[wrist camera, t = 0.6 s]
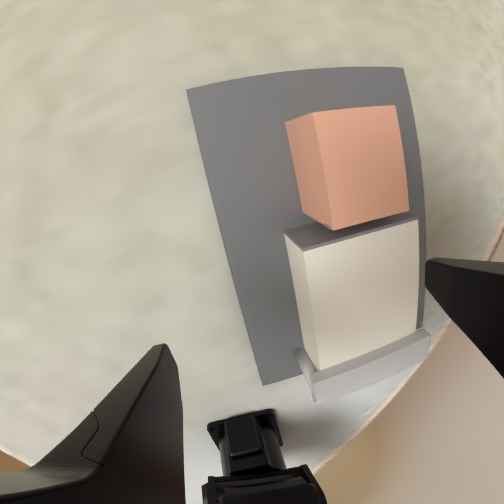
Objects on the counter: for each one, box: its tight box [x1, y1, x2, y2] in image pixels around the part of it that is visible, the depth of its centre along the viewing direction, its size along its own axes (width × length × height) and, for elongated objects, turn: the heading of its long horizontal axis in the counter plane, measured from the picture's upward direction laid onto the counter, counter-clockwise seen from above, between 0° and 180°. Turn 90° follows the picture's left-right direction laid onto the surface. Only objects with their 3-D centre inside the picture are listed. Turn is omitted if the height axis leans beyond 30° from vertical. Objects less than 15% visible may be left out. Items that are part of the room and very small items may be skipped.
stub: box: [285, 105, 409, 231], centre depth 17 cm, size 6×5×5 cm
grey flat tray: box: [186, 67, 431, 405], centre depth 19 cm, size 23×16×6 cm
